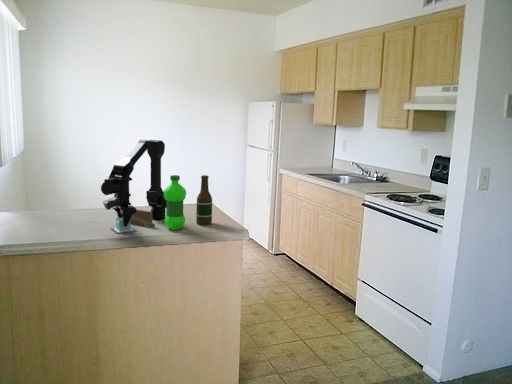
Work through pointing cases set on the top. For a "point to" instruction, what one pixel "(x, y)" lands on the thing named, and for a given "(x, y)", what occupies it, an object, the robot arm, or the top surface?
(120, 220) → the letter cube
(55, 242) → the top surface
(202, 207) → the beer bottle
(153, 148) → the robot arm
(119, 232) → the pad
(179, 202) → the plastic bottle
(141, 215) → the brown wooden block
